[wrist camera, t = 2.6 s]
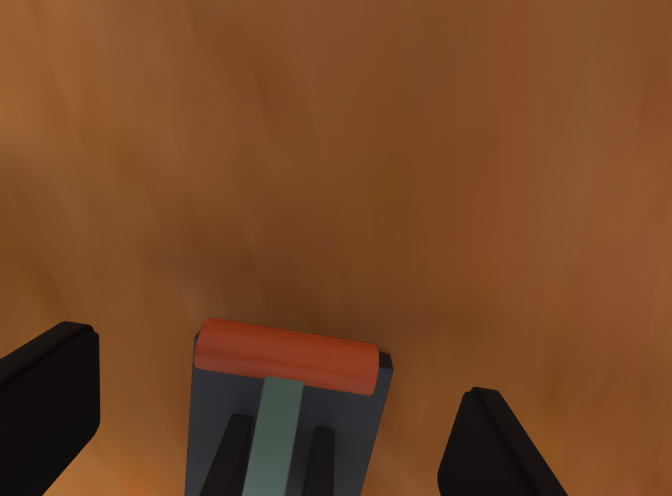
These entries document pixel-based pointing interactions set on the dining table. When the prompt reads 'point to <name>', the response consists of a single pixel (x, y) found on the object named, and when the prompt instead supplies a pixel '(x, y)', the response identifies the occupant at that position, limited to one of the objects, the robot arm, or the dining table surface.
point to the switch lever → (282, 384)
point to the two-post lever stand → (310, 440)
